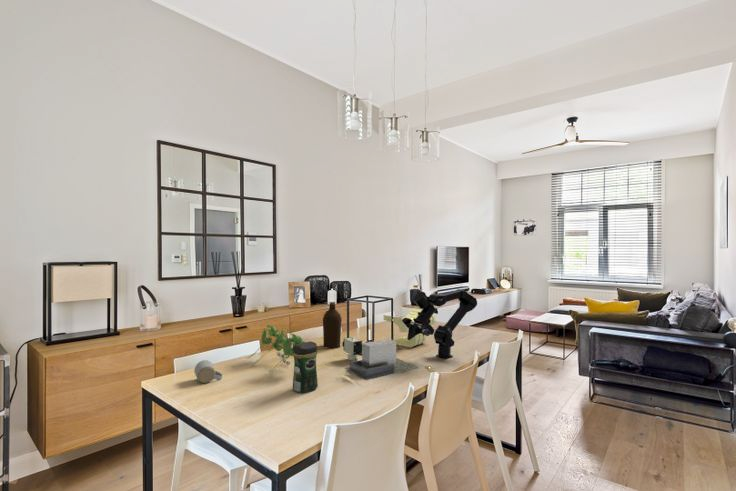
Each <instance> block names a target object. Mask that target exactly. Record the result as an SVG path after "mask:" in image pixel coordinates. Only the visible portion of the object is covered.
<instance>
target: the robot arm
mask: <svg viewBox="0 0 736 491" xmlns="http://www.w3.org/2000/svg"><path fill="white" fill-rule="evenodd" d="M454 300H458V303H459V304H458V305H459V307H458V308H457V309H456V311H455V312H454V313H453V314H452V315H451V316H450V318H449V319H448V321H447V322H446V323H445V324H444V325H438V326H437V328H436V329H435V328H434V327H433V326H432V324H430V321H431V320H430V318H431V317H432V315H433V314H434V315H435V314H436V315H437V314H439V312H438V308H440V307H442V306H445V304H446V303H447V302H451V301H454ZM413 302H414V304H416V305H417V307H418V308H419V310H422V311H421V312H418V313H417V314H418V316H417V318H416V319H415V318H414V319H413V321H414V322H413V321H412V320H411V319H410V318H404V317H403V318H404V319H403V320H402V322H403V323H404V324H405V325H406V326H407V327H408V328H409V331H408V332H407V336H406V337H407V339H408V340H410V339H412V338H413V337H415V336H416V335H418V334H423V335H426V337H429V336H433V340H434V341H435V344H437V345H438V349H437V350H438V351H437V354H436V355H435V356H436V357H439V358H440V359H441V358H442V359H445V360H447V359H450V358H452V357H454V355H452V354H451V353H452V352H451V351H452V350H451V349H452V347H454V346H455V341H454V340H453V338H452V337H453V331H455V329H456V328H457V326H458V325H459V324H460V322H461V321H462V319H463V318H464V317H465V316H466V314H467V313H469V312H472V311H474V310H475V308H476V307H477V306H478V300H477V298H476V297H474V296H473V295H471V294H470V293H469V292H467V291H466V290H465V289H459V288H458V289H456V290H452V291H449V292H445V293H430V295H429V296H428V295H427V294H426V292H425V291H420V292H419V293H417V294H415V295H414V296H413ZM436 307H438V308H436Z"/></svg>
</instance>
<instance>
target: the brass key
mask: <svg viewBox="0 0 736 491" xmlns="http://www.w3.org/2000/svg"><path fill="white" fill-rule="evenodd" d="M424 368H425V369H427V370H428V371H430V373H434V372H433V371H435V370H434V369H433V368H432V366H430V365H428V366H427V365H425V367H424Z"/></svg>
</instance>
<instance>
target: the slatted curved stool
mask: <svg viewBox="0 0 736 491" xmlns="http://www.w3.org/2000/svg"><path fill="white" fill-rule="evenodd" d="M421 311H422V309H418V308H417V309H416V308H412V309H411V310H410V311H409V312H408V314H406V315H405V316H404V317H396V316H392V317H393V319H392V321H393V324H395V325H396V326H397V327H398V329H399V332H400V333H407V334H408V331H409V328H408V327H407V326H406V325H405V324H404V323H403V322H402V320H403V319H404V318H410V319H411V320H412V321H413V319H414V318H415V319H416V318H417V316H418V314H417V313H418V312H421ZM430 320H431V321H430V325H435V324H436V322H435V321H436V317H435V313H434V314H433V315H432V317H431V318H430ZM383 321H386V322H390V323H392V322H391V315H386V314H384V315H383ZM413 322H414V321H413ZM407 337H408V336H401V337H398V338H395V339H393V340H394V341H396V345H399V346H404V347H406V348H413V347H415V346H419V345H421V344H424V343H426V341H427V336H426V335H423V334H418V335H416V336H415V337H413V338H412V339H410V340H408V339H407Z"/></svg>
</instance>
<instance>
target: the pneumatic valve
mask: <svg viewBox="0 0 736 491" xmlns="http://www.w3.org/2000/svg"><path fill="white" fill-rule="evenodd" d="M362 343H363V340H360V339H358V338H355V337H345V338H343V341H342V344H341V345H342V347H343V352H345V353H348V354H347V359H348V360H349V361H350V362H355V361H358V355H362Z"/></svg>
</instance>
